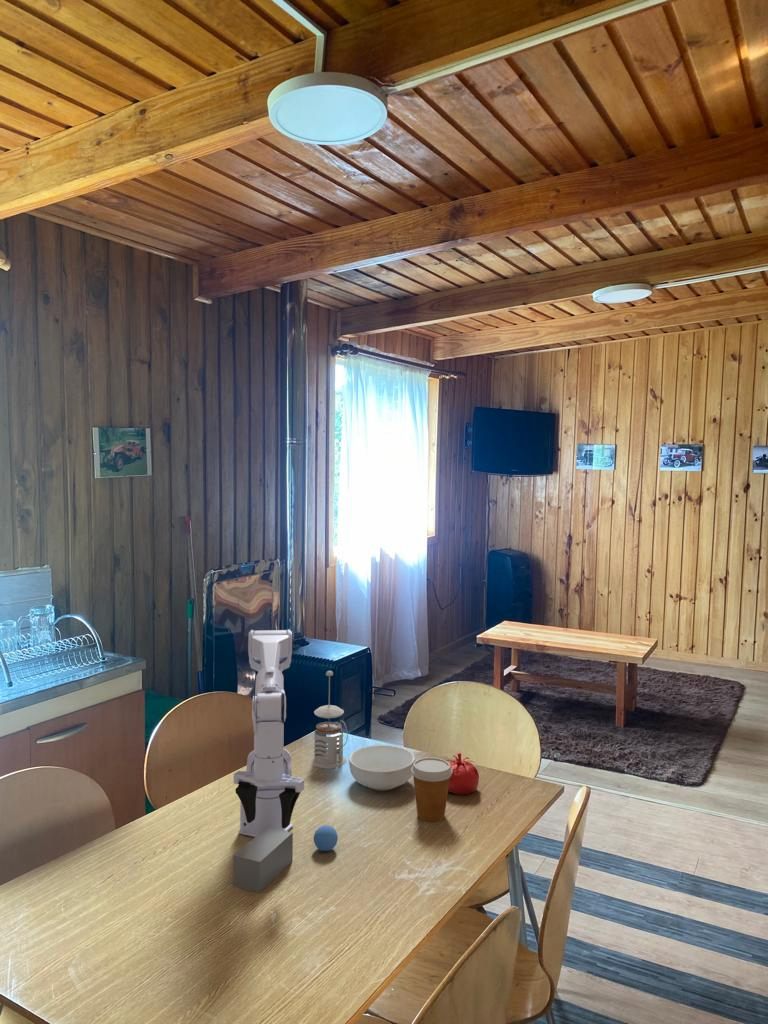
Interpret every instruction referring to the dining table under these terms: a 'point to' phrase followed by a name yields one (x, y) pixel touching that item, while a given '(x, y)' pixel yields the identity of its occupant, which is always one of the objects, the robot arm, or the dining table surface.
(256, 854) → the grey rectangular block
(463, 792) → the pomegranate
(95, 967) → the dining table surface
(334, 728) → the french press
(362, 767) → the cereal bowl
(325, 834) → the ball
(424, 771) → the disposable coffee cup
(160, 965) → the dining table surface
